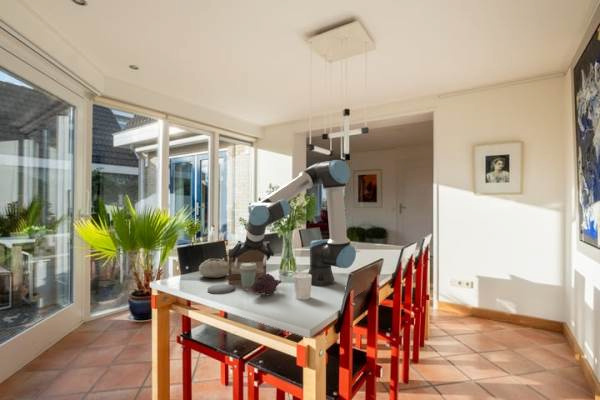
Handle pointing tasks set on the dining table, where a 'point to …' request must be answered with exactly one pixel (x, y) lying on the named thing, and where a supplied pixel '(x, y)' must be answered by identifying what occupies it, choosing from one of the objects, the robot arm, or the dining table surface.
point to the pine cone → (265, 284)
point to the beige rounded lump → (214, 268)
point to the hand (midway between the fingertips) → (250, 263)
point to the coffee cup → (248, 274)
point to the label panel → (246, 257)
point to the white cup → (303, 286)
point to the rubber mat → (221, 289)
